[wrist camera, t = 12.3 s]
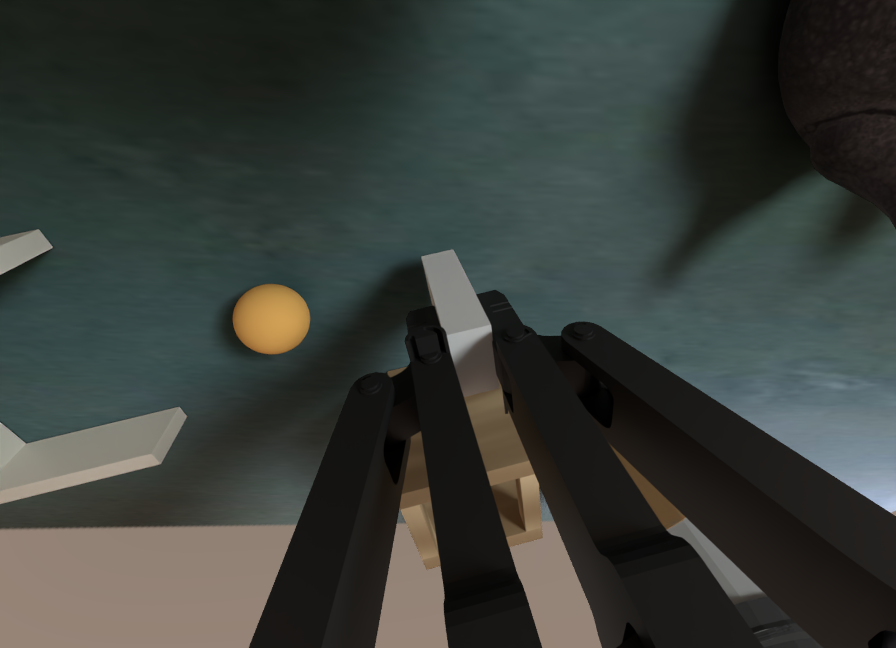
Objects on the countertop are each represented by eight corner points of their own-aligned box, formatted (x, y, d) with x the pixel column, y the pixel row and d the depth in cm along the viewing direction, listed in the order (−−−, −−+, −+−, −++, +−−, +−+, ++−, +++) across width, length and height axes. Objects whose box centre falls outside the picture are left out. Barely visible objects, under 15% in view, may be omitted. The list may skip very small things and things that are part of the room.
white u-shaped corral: (-198, 279, 15) (-321, 322, 12) (38, 229, 15) (-32, 259, 13) (22, 456, 21) (-29, 511, 18) (187, 416, 21) (160, 464, 19)
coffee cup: (545, 480, 31) (667, 756, 18) (518, 415, 26) (655, 724, 13) (645, 441, 30) (841, 697, 17) (634, 367, 25) (890, 643, 13)
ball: (231, 281, 18) (207, 315, 15) (299, 265, 18) (287, 297, 15) (261, 336, 20) (244, 376, 17) (323, 321, 20) (315, 358, 17)
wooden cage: (387, 371, 22) (394, 496, 15) (487, 346, 22) (537, 458, 16) (412, 442, 26) (426, 569, 19) (498, 420, 26) (542, 537, 19)
